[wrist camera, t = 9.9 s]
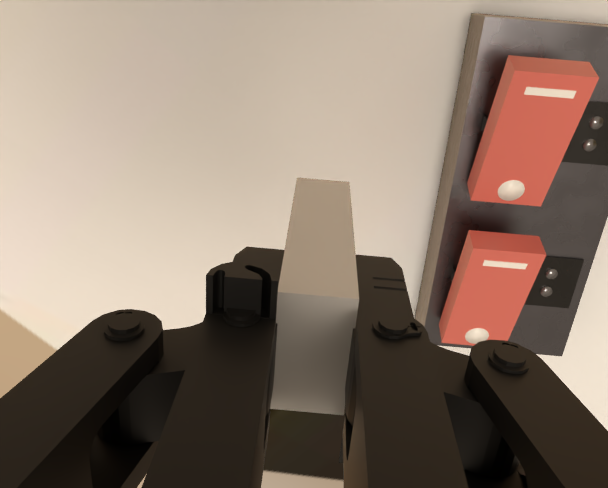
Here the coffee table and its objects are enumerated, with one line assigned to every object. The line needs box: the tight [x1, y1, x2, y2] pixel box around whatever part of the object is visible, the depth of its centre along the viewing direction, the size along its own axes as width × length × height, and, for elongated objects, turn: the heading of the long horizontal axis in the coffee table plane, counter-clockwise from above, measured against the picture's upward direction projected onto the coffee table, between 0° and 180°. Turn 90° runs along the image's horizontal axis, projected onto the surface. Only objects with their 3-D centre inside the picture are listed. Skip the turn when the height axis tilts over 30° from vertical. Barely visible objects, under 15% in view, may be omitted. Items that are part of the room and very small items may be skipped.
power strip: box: [415, 13, 608, 356], centre depth 44 cm, size 26×12×6 cm, turn 176°
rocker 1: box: [467, 55, 599, 206], centre depth 38 cm, size 10×5×2 cm, turn 175°
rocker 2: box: [439, 230, 546, 346], centre depth 43 cm, size 10×5×2 cm, turn 175°
